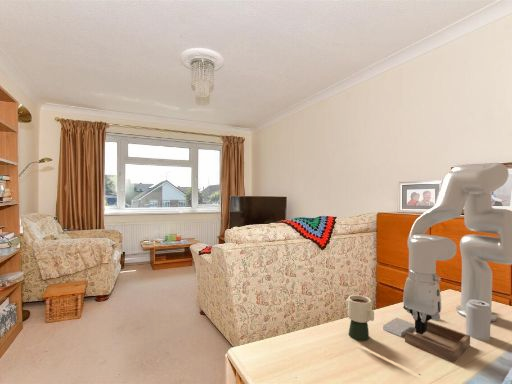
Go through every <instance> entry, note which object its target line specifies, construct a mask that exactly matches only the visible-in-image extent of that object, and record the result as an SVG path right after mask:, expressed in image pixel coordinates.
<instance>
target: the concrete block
mask: <svg viewBox="0 0 512 384" xmlns="http://www.w3.org/2000/svg"><path fill="white" fill-rule="evenodd" d="M413 329H415V323H412V322H410V321H407V320H404V319H401V318H399V317H395V318H394V319H392V320H390V321H389V322H386V323H385V324H383V325H382V330H383V331H386V332H389V333H391V334H393V335H396V336H398V337H401V338H402V337H403V336H405V332H406V331H407V332H411V331H412V330H413Z"/></svg>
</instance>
